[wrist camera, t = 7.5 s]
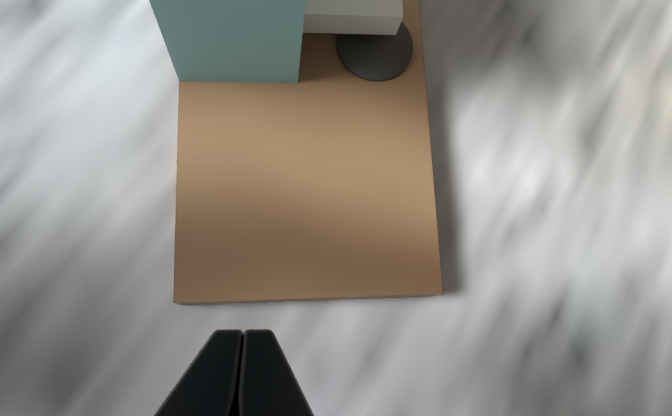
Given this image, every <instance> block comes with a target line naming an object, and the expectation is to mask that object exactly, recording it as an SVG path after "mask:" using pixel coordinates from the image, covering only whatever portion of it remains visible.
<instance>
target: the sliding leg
mask: <svg viewBox="0 0 672 416" xmlns="http://www.w3.org/2000/svg"><path fill="white" fill-rule="evenodd" d="M150 3H151V6H152V9H153V11H154V14H155V17H156V19H157V22H158V25H159V27H160V30H161V33H162V36H163V38H164V41H165V44H166V46H167V49H168V52H169V54H170V57H171V60H172V63H173V65H174V68H175V71H176V73H177V76H178V79H179V81H211V82H283V83H298V74H299V64H300V54H301V44H302V33H336V34H377V35H396V33H397V31H398V28H399V26H400V24H401V21H402V19H403V6H402V0H150Z"/></svg>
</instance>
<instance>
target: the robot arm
mask: <svg viewBox="0 0 672 416" xmlns="http://www.w3.org/2000/svg"><path fill="white" fill-rule="evenodd" d="M154 416H314V414H313V412H312V410H311V408H310V406H309V404H308V402H307V400H306V398H305V396H304V394H303V392H302V390H301V388H300V386H299V384H298V382H297V380H296V378H295V376H294V374H293V372H292V370H291V368H290V366H289V363H288V361H287V359H286V357H285V355H284V353H283V351H282V349H281V347H280V345H279V343H278V341H277V339H276V337H275V335H274V333H273V332H272V331H271V330H268V329H265V330H246V331H245V332H244V335H243V332H242V331H241V330H217V331H215V332H214V333H213V334H212V335H211V336H210V338H209V339H208V341H207V342H206V343H205V345H204V346H203V348H202V349H201V350H200V352H199V353H198V355H197V356H196V357H195V359H194V360H193V362H192V363H191V364H190V366H189V367H188V369H187V370H186V371H185V373H184V374H183V376H182V377H181V378H180V380H179V381H178V383H177V384H176V385H175V387H174V388H173V390H172V391H171V392H170V394H169V395H168V397H167V398H166V399H165V401H164V402H163V404H162V405H161V406H160V408H159V409H158V411H157V412H156V413H155V415H154Z"/></svg>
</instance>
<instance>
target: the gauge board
mask: <svg viewBox="0 0 672 416" xmlns="http://www.w3.org/2000/svg"><path fill="white" fill-rule="evenodd" d="M402 6H403V19H402V21H401V24H400V26H399V28H398V31H397V33H396V35H377V34H336V33H302V44H301V54H300V64H299V74H298V83H283V82H211V81H179V107H178V146H177V184H176V223H175V261H174V300H173V303H177V304H180V305H188V304H218V303H248V302H278V301H308V300H338V299H368V298H397V297H427V296H435V295H439V294H443V291H442V279H441V267H440V254H439V242H438V230H437V218H436V206H435V193H434V181H433V169H432V157H431V144H430V132H429V120H428V108H427V95H426V83H425V71H424V59H423V46H422V34H421V22H420V10H419V0H402Z"/></svg>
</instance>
